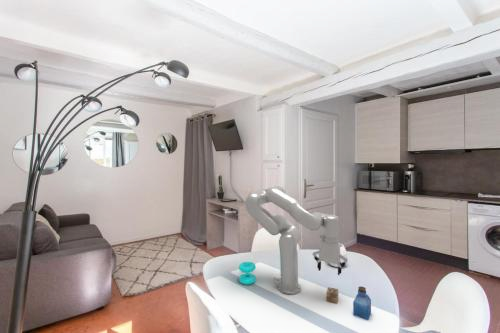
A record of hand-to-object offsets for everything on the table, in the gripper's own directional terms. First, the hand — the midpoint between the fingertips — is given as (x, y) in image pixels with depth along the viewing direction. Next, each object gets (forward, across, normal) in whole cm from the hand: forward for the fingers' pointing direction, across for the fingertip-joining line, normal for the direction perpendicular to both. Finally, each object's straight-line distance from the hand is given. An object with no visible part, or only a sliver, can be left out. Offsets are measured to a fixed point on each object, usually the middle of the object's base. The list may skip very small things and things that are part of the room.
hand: (329, 271), depth 127 cm
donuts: (+15, -45, -4) cm, 48 cm away
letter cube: (+13, +2, -2) cm, 13 cm away
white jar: (+13, -2, +42) cm, 44 cm away
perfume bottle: (+13, +16, -8) cm, 22 cm away
